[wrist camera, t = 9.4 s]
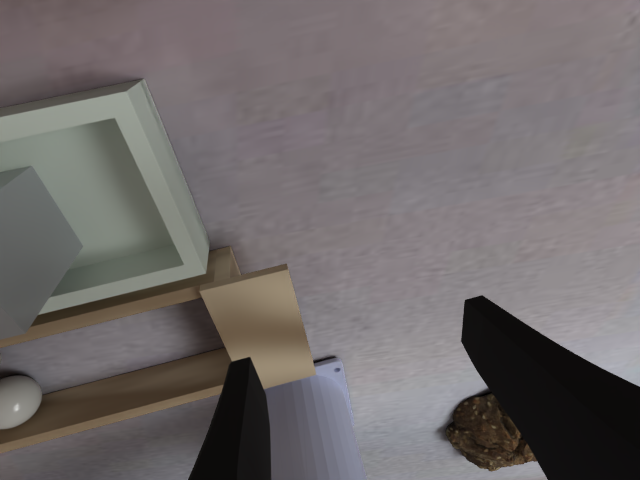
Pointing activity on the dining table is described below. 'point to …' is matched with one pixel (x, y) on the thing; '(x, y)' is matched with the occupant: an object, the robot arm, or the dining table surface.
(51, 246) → the stone block
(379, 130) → the dining table surface
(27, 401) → the grey ball
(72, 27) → the dining table surface
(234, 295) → the birch crate
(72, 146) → the green tub
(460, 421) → the brown rock
